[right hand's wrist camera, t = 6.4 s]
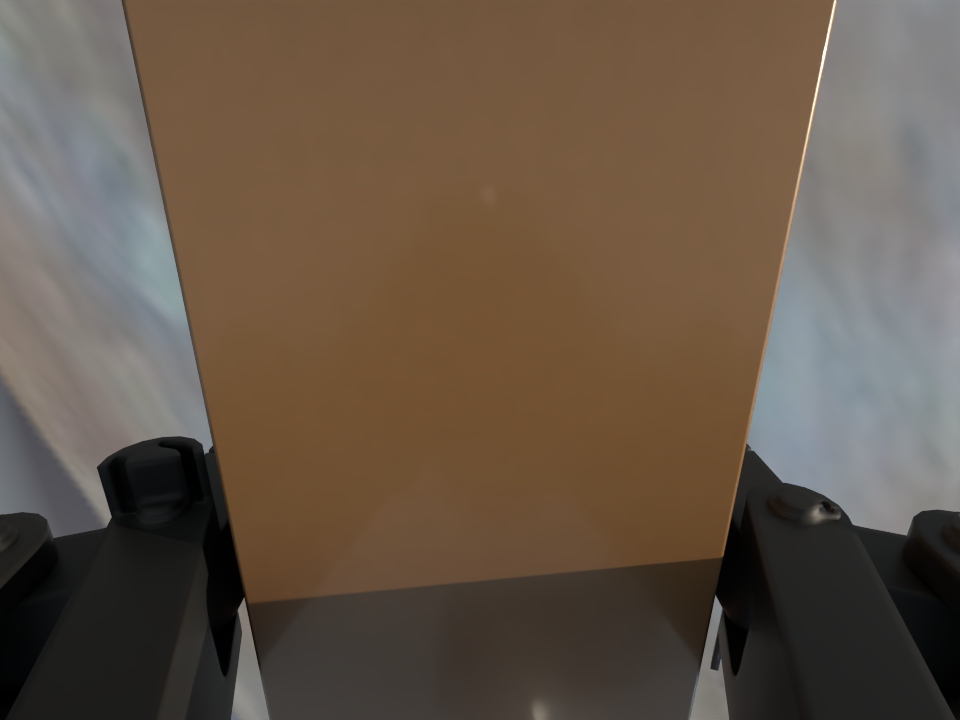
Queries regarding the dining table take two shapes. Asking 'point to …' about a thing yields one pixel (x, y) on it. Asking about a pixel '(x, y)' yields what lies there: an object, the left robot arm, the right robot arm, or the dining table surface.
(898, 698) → the right robot arm
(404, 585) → the bar
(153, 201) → the dining table surface
